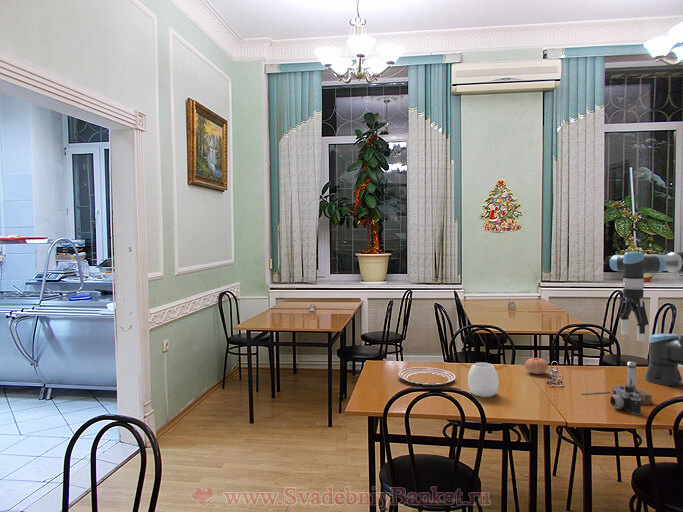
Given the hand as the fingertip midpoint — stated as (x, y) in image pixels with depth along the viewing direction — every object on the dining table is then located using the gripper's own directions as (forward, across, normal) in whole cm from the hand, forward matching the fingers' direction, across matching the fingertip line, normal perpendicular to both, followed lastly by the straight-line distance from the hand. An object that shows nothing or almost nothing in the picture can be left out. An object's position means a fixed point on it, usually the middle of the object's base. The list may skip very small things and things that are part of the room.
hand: (632, 337), depth 212 cm
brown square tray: (+27, 0, 0) cm, 27 cm away
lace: (+27, -7, -12) cm, 30 cm away
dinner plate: (+27, -24, -85) cm, 92 cm away
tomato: (+27, -39, -28) cm, 55 cm away
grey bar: (+27, 0, 0) cm, 27 cm away
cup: (+27, -3, -62) cm, 68 cm away
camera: (+27, +12, -10) cm, 31 cm away
